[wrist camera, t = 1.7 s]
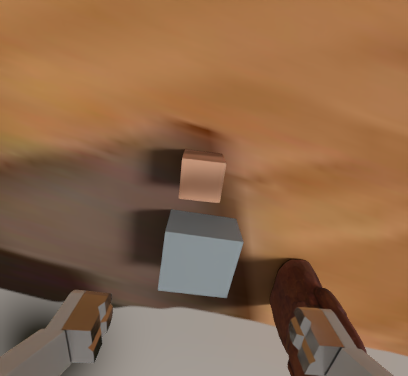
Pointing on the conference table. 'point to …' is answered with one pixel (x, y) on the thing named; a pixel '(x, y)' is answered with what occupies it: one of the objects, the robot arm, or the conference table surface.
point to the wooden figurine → (302, 305)
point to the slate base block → (199, 254)
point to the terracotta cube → (202, 176)
